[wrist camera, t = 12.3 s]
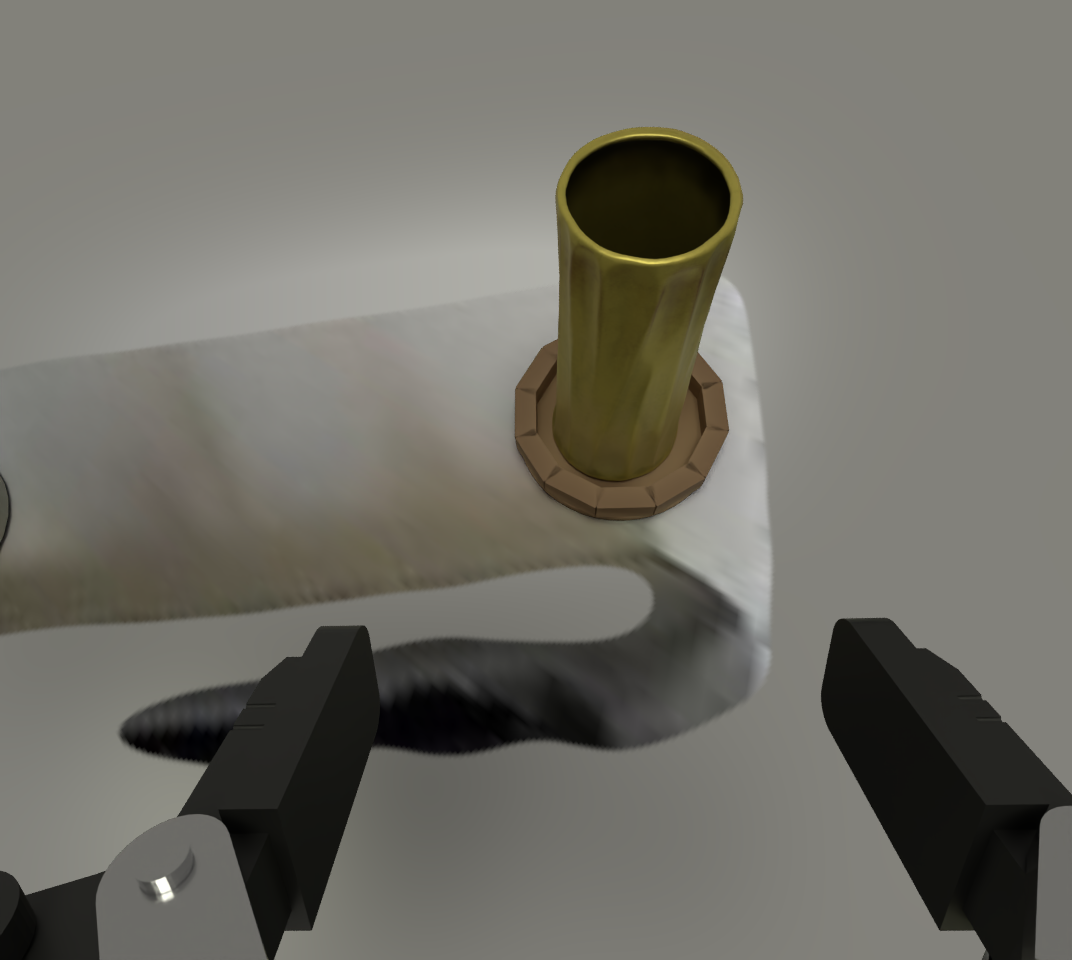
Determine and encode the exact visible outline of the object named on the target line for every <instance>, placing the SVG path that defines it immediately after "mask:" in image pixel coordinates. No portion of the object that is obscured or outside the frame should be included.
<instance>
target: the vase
mask: <svg viewBox="0 0 1072 960" xmlns="http://www.w3.org/2000/svg"><path fill="white" fill-rule="evenodd" d="M742 205H743V194H742V190H741V186H740V182H739V178H738V176H737V174H736V173H735V171H734V169H733V167H732V165H731V164H730V162H729V161H728V160H727V159H726V158H725V156H724V155H723V154H722V153H720V152H719V151H718V150H717V149H715V148H714V147H713V146H712V145H710V144H709V143H707V142H705V141H704V140H702V139H700V138H698V137H696V136H693V135H691V134H688V133H685V132H683V131H680V130H676V129H670V128H661V127H638V128H629V129H624V130H620V131H616V132H612V133H609V134H607V135H603V136H601V137H599V138H596V139H594V140H592V141H591V142H589V143H587V144H586V145H585V146H583V147H582V148H580V149H579V150H578V151H577V152H576V153H575V154H574V155H573V156H572V157H571V159H570V160H569V161H568V163H567V165H566V166H565V168H564V170H563V172H562V174H561V176H560V179H559V181H558V185H557V189H556V212H557V228H558V254H559V274H560V280H559V321H558V356H557V389H556V405H555V408H554V412H553V418H552V431H553V437H554V440H555V442H556V444H557V446H558V448H559V450H560V452H561V453H562V455H563V456H564V458H565V459H566V460H567V461H568V462H569V463H570V464H571V465H572V466H574V467H575V468H576V469H578V470H579V471H581V472H582V473H584V474H586V475H588V476H591V477H594V478H597V479H601V480H606V481H624V480H630V479H633V478H637V477H640V476H643V475H645V474H647V473H649V472H651V471H653V470H654V469H655V468H657V467H658V466H659V465H660V464H661V463H662V462H663V461H664V460H665V459H666V458H667V457H668V455H669V454H670V452H671V451H672V448H673V446H674V443H675V440H676V436H677V431H678V425H679V423H678V421H679V418H680V414H681V411H682V408H683V404H684V401H685V398H686V394H687V390H688V386H689V382H690V378H691V374H692V371H693V367H694V364H695V360H696V356H697V353H698V348H699V344H700V340H701V336H702V332H703V328H704V324H705V322H706V319H707V316H708V313H709V310H710V306H711V303H712V300H713V296H714V293H715V290H716V287H717V285H718V282H719V279H720V276H721V273H722V270H723V267H724V264H725V262H726V259H727V256H728V253H729V250H730V247H731V244H732V241H733V238H734V235H735V231H736V226H737V222H738V218H739V215H740V211H741V208H742Z"/></svg>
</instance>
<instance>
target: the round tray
mask: <svg viewBox="0 0 1072 960" xmlns="http://www.w3.org/2000/svg"><path fill="white" fill-rule="evenodd" d="M557 356H558V339H557V340H555V341H553V342H551V343H549V344H547V345H545V346H543V348H541V350H540V351H539V353H538V354H537V356H536V357H535V359H534V360H533V362H532V363H531V365H530V367H529V368H528V370H527V371H526V373H525V374H524V376H523V377H522V379H521V380H520V382H519V383H518V385H517V386H516V389H515V439H516V444H517V449H518V450H519V452H520V454H521V455H522V457H523V458H524V461H525V463H526V465H527V467H528V469H529V471H530V472H531V474H532V476H533V477H534V478H535V480H536V481H537V482H538V484H539V485H540V486H541V487H542V488H543V489H544V491H546V492H547V493H548V494H549V495H550V496H552V497H553V498H554V499H556V500H557V501H558V502H560V503H561V504H563V505H565V506H566V507H568V508H570V509H572V510H574V511H577V512H579V513H581V514H584V515H588V516H591V517H595V518H600V519H606V520H622V521H623V520H635V519H641V518H645V517H650V516H653V515H656V514H659V513H661V512H664V511H666V510H668V509H670V508H672V507H674V506H676V505H677V504H678V503H680V502H681V501H683V500H684V499H686V498H687V497H688V496H689V495H690V494H691V493H692V492H694V491H696V490H697V489H699V488H700V487H701V486H702V484H703V482H704V480H705V478H706V476H707V474H708V472H709V470H710V468H711V466H712V464H713V462H714V460H715V458H716V456H717V454H718V452H719V450H720V448H721V446H722V444H723V442H724V440H725V438H726V436H727V434H728V431H729V426H728V419H727V412H726V405H725V398H724V391H723V384H722V382H721V381H722V380H721V379H720V378H719V377H718V376H717V374H716V373H715V372H714V371H713V370H712V369H711V367H710V366H709V365H708V364H707V363H706V361H705V360H704V359H703V358H702V357H701V355H700V354H699V353H697V356H696V360H695V364H694V367H693V371H692V374H691V378H690V382H689V386H688V390H687V394H686V398H685V401H684V404H683V408H682V411H681V414H680V418H679V421H678V423H679V425H678V431H677V436H676V440H675V443H674V446H673V448H672V451H671V452H670V454H669V455H668V457H667V458H666V459H665V460H664V461H663V462H662V463H661V464H660V465H659V466H658V467H657V468H655V469H654V470H653V471H651V472H649V473H647V474H645V475H643V476H640V477H637V478H633V479H630V480H624V481H606V480H601V479H597V478H594V477H591V476H588V475H586V474H584V473H582V472H581V471H579V470H578V469H576V468H575V467H574V466H572V465H571V464H570V463H569V462H568V461H567V460H566V459H565V458H564V456H563V455H562V453H561V452H560V450H559V448H558V446H557V444H556V442H555V440H554V437H553V431H552V418H553V412H554V408H555V405H556V389H557Z"/></svg>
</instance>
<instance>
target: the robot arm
mask: <svg viewBox="0 0 1072 960" xmlns="http://www.w3.org/2000/svg"><path fill="white" fill-rule="evenodd" d="M7 519H8V495H7V491H6V487H5V483H4V482H3V480H2V478H1V477H0V542H1V540H2V537H3V535H4V532H5V527H6V523H7ZM821 702H822V710H823V714H824V718H825V721H826V724H827V726H828V729H829V731H830V732H831V734H832V736H833V738H834V739H835V741H836V743H837V745H838V747H839V749H840V751H841V752H842V754H843V756H844V758H845V760H846V761H847V763H848V765H849V767H850V769H851V770H852V772H853V774H854V776H855V777H856V780H857V781H858V783H859V785H860V787H861V789H862V790H863V792H864V794H865V796H866V798H867V800H868V801H869V803H870V805H871V807H872V808H873V810H874V812H875V814H876V816H877V818H878V819H879V821H880V823H881V825H882V827H883V829H884V830H885V832H886V834H887V836H888V838H889V839H890V841H891V843H892V845H893V847H894V849H895V850H896V852H897V854H898V856H899V858H900V859H901V861H902V863H903V865H904V867H905V868H906V870H907V872H908V874H909V876H910V878H911V879H912V881H913V883H914V885H915V887H916V889H917V890H918V892H919V894H920V896H921V897H922V899H923V901H924V903H925V905H926V906H927V908H928V910H929V912H930V914H931V916H932V917H933V919H934V921H935V923H936V925H937V926H938V928H939V930H940V931H947V930H949V931H951V930H953V931H956V930H957V931H960V930H962V931H964V930H975V931H976V933H977V935H978V936H979V938H980V940H981V942H982V943H983V945H984V947H985V948H986V951H985V953H984V955H983V958H982V960H1072V794H1071V793H1070V792H1069V791H1068V790H1067V789H1066V788H1065V787H1064V786H1063V785H1062V783H1061V782H1060V781H1059V780H1058V779H1057V778H1056V777H1055V776H1054V775H1053V774H1052V772H1051V771H1050V770H1049V769H1048V768H1047V767H1046V766H1045V765H1044V764H1043V762H1042V761H1041V760H1040V759H1039V758H1038V757H1037V756H1036V755H1035V754H1034V753H1033V751H1032V750H1031V749H1030V748H1029V747H1028V746H1027V745H1026V744H1025V743H1024V741H1023V740H1022V739H1020V737H1019V736H1018V735H1017V734H1016V733H1015V732H1014V731H1013V729H1012V728H1011V727H1010V726H1009V725H1008V724H1007V723H1006V722H1002V721H1001V716H1000V715H999V714H998V713H997V712H996V711H995V710H994V708H993V707H992V706H991V705H990V704H989V703H988V702H987V701H986V700H982V698H981V694H980V693H979V692H978V691H977V690H976V689H975V688H974V686H973V685H972V684H971V683H970V682H969V681H968V680H967V679H966V678H965V677H964V675H963V674H962V673H961V672H960V671H959V670H958V669H957V668H955V667H953V666H952V665H950V664H949V663H947V662H946V661H944V660H943V659H941V658H940V657H938V656H937V655H935V654H934V653H932V652H931V651H929V650H928V649H926V648H924V649H922V648H920V649H919V648H916V647H915V646H914V645H913V644H912V643H911V642H910V640H909V639H908V638H907V637H906V636H905V635H904V634H903V632H902V631H901V630H900V629H899V628H898V626H897V625H896V624H895V623H894V622H893V621H891V620H890V619H888V618H854V619H853V618H851V619H839V620H838V621H837V622H836V624H835V626H834V629H833V634H832V639H831V644H830V649H829V653H828V658H827V664H826V669H825V674H824V679H823V684H822V690H821ZM246 705H247V706H246V709H243V710H242V712H241V713H240V715H239V717H238V718H237V720H236V722H235V723H234V728H233V730H230V731H229V733H228V735H227V736H226V738H225V740H224V741H223V743H222V745H221V746H220V748H219V749H218V751H217V753H216V754H215V756H214V758H213V759H212V761H211V763H210V764H209V766H208V767H207V769H206V771H205V772H204V774H203V776H202V777H201V779H200V781H199V782H198V784H197V785H196V787H195V789H194V790H193V792H192V794H191V795H190V797H189V799H188V800H187V802H186V803H185V805H184V807H183V808H182V810H181V812H180V813H179V815H178V816H177V817H176V818H173V819H170V820H167V821H165V822H163V823H160V824H158V825H156V826H154V827H153V828H151V829H149V830H147V831H146V832H144V833H143V834H141V835H140V836H138V837H137V838H136V839H135V840H133V841H132V842H131V843H130V844H129V845H127V846H126V847H125V848H124V849H123V850H122V851H121V852H120V853H119V854H118V855H117V857H116V858H115V859H114V860H113V862H112V863H111V864H110V865H109V867H108V869H107V870H106V871H104V872H101V873H98V874H96V875H92V876H89V877H85V878H82V879H79V880H75V881H72V882H69V883H66V884H62V885H59V886H55V887H52V888H49V889H45V890H42V891H38V892H35V893H32V894H28V895H25V894H24V892H23V891H22V889H21V887H20V885H19V884H18V882H17V880H16V879H15V878H14V877H13V876H12V875H10V874H8V873H6V872H3V871H0V960H274V957H275V955H276V952H277V950H278V947H279V944H280V941H281V939H282V936H283V933H284V931H292V930H293V931H295V930H296V931H299V930H301V931H305V930H306V931H310V930H312V928H313V925H314V922H315V919H316V916H317V912H318V910H319V906H320V903H321V900H322V897H323V894H324V891H325V888H326V885H327V882H328V879H329V876H330V872H331V870H332V867H333V864H334V861H335V857H336V854H337V851H338V848H339V845H340V842H341V839H342V836H343V833H344V830H345V827H346V824H347V820H348V817H349V814H350V811H351V808H352V805H353V802H354V799H355V796H356V793H357V790H358V787H359V784H360V781H361V778H362V775H363V772H364V769H365V765H366V762H367V759H368V756H369V753H370V750H371V747H372V744H373V741H374V738H375V735H376V731H377V727H378V721H379V712H380V698H379V690H378V684H377V678H376V672H375V666H374V661H373V655H372V649H371V643H370V637H369V633H368V630H367V628H366V627H365V626H321V627H319V628H318V629H317V631H316V632H315V634H314V636H313V638H312V639H311V641H310V643H309V645H308V647H307V648H306V651H305V652H304V654H303V656H302V657H286V658H285V659H284V660H283V661H282V662H281V663H279V664H278V665H277V666H276V667H275V668H274V669H272V670H271V671H270V672H269V673H268V674H267V675H265V676H264V677H263V678H262V679H261V681H260V682H259V684H258V686H257V687H256V689H255V690H254V692H253V694H252V695H251V697H250V699H249V700H248V702H247V704H246Z"/></svg>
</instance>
